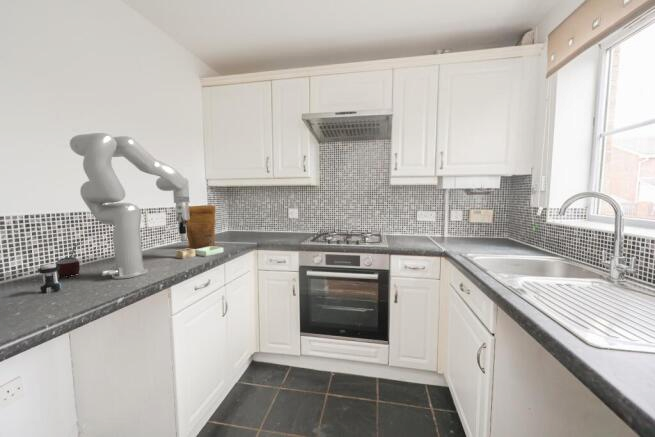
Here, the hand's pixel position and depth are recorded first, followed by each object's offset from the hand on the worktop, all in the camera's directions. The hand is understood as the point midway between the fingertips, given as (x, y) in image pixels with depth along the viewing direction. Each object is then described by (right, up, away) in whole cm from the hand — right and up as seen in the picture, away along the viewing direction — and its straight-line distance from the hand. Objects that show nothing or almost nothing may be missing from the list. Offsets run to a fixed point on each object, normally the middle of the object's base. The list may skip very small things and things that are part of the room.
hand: (183, 232), depth 142 cm
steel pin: (0, -5, 0) cm, 5 cm away
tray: (+10, -13, +9) cm, 19 cm away
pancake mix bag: (-2, -12, +26) cm, 28 cm away
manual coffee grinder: (-32, -18, -31) cm, 48 cm away
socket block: (0, -14, +2) cm, 14 cm away
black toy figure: (-22, -19, -49) cm, 57 cm away
